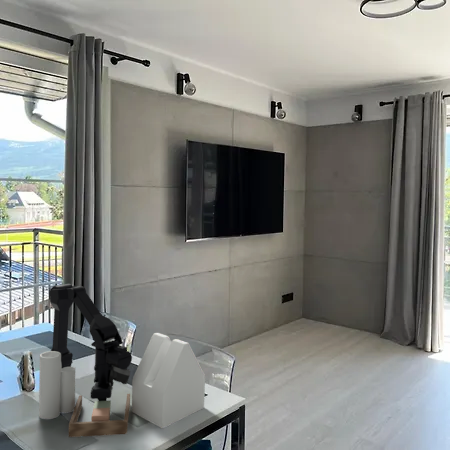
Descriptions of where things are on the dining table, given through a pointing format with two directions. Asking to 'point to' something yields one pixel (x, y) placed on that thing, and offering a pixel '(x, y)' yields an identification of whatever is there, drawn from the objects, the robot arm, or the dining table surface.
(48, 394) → the white tubes
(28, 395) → the dining table surface
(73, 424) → the box
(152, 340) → the white slotted block
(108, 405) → the sage block
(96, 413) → the terracotta block
